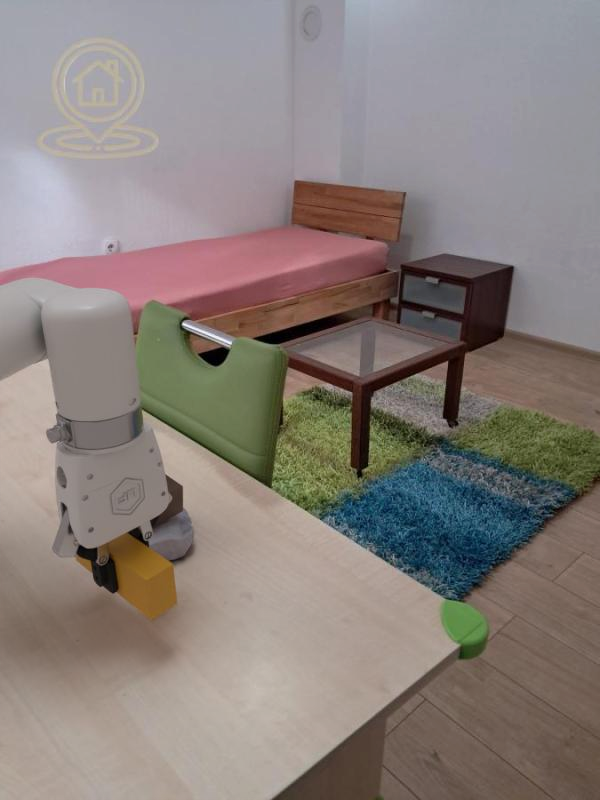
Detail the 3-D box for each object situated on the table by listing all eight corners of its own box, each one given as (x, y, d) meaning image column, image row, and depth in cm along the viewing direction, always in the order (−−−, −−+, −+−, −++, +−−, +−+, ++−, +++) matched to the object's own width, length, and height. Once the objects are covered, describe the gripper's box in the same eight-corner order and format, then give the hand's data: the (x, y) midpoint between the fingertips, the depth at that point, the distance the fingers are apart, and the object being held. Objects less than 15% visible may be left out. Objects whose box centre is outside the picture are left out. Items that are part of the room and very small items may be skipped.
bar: (151, 620, 62) (146, 580, 60) (76, 560, 70) (69, 523, 68) (177, 603, 64) (173, 563, 62) (101, 547, 73) (95, 510, 71)
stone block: (174, 517, 91) (102, 523, 86) (178, 488, 89) (106, 492, 84) (201, 568, 81) (122, 578, 76) (207, 536, 79) (127, 545, 74)
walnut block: (116, 509, 81) (115, 483, 80) (155, 490, 86) (154, 466, 84) (145, 531, 78) (143, 505, 76) (183, 511, 82) (183, 486, 80)
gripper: (38, 469, 52) (71, 638, 59) (195, 406, 63) (206, 555, 70) (-3, 440, 56) (32, 601, 64) (150, 386, 67) (165, 528, 75)
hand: (123, 575), depth 67 cm, fingers closed on bar, 3 cm apart
